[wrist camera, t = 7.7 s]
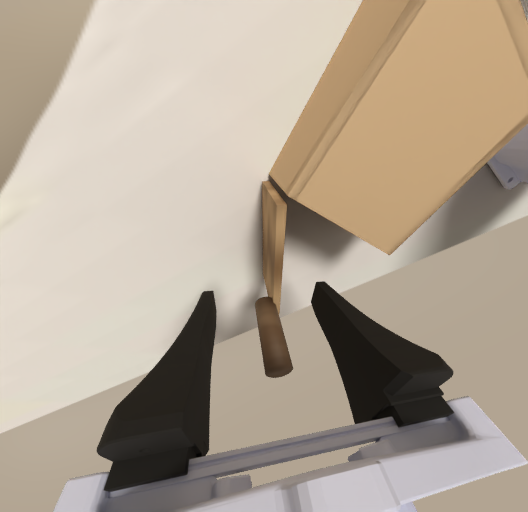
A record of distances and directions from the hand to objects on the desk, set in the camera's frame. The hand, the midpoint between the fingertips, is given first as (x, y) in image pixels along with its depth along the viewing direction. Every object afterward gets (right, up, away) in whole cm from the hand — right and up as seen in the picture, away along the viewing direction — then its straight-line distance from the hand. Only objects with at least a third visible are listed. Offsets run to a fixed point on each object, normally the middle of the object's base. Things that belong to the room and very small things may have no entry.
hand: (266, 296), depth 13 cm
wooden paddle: (-1, +5, +5) cm, 7 cm away
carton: (+7, +12, +2) cm, 14 cm away
